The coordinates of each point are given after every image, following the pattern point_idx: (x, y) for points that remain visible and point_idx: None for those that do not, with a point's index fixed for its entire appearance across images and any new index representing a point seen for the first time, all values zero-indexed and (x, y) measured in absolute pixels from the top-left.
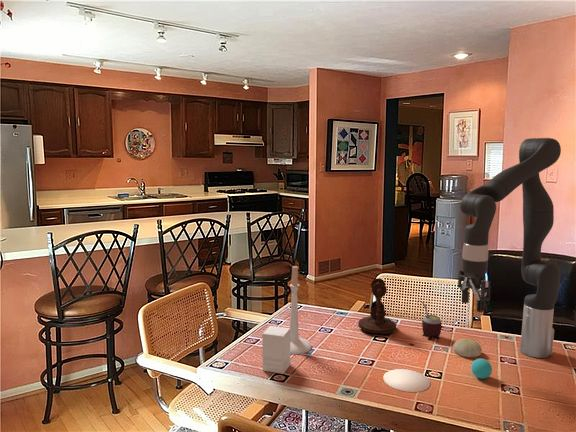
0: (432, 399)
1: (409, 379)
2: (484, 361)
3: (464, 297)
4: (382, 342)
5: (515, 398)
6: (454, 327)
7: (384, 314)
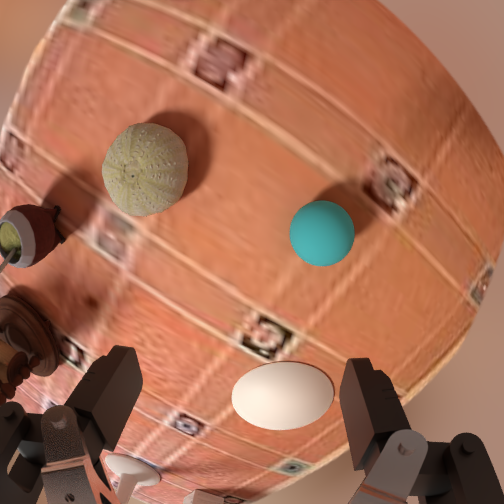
0: None
1: (283, 395)
2: (340, 241)
3: (124, 406)
4: (89, 358)
5: (429, 208)
6: (8, 125)
7: (17, 356)
